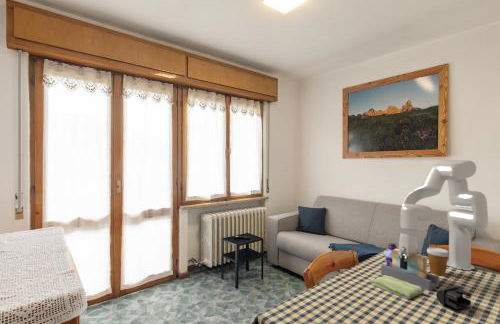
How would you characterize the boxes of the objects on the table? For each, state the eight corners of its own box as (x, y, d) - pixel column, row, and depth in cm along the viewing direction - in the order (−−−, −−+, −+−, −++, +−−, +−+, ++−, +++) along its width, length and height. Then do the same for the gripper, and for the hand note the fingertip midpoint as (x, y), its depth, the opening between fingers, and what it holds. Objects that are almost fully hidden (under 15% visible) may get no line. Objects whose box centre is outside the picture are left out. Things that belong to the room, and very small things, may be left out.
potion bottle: (401, 264, 147) (401, 243, 147) (400, 269, 140) (401, 246, 140) (384, 261, 152) (384, 240, 152) (382, 266, 144) (383, 244, 145)
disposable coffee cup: (441, 270, 140) (441, 247, 140) (453, 277, 131) (453, 253, 131) (422, 269, 141) (422, 246, 141) (433, 276, 132) (433, 252, 132)
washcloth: (386, 279, 128) (386, 272, 129) (425, 295, 113) (425, 287, 113) (369, 284, 122) (369, 277, 122) (407, 302, 107) (407, 294, 107)
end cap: (451, 299, 109) (452, 283, 109) (471, 308, 102) (471, 290, 102) (435, 303, 105) (435, 286, 105) (455, 313, 99) (455, 295, 99)
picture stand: (391, 269, 140) (391, 261, 140) (439, 285, 121) (439, 276, 122) (381, 273, 135) (381, 265, 135) (428, 290, 116) (429, 281, 116)
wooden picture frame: (396, 270, 135) (396, 248, 135) (426, 280, 123) (427, 256, 123) (392, 271, 133) (392, 249, 133) (422, 282, 121) (422, 258, 121)
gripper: (410, 227, 136) (409, 261, 136) (391, 232, 127) (391, 267, 127) (426, 231, 130) (425, 265, 130) (408, 235, 121) (407, 273, 120)
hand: (408, 266), depth 128 cm, fingers open, 9 cm apart
